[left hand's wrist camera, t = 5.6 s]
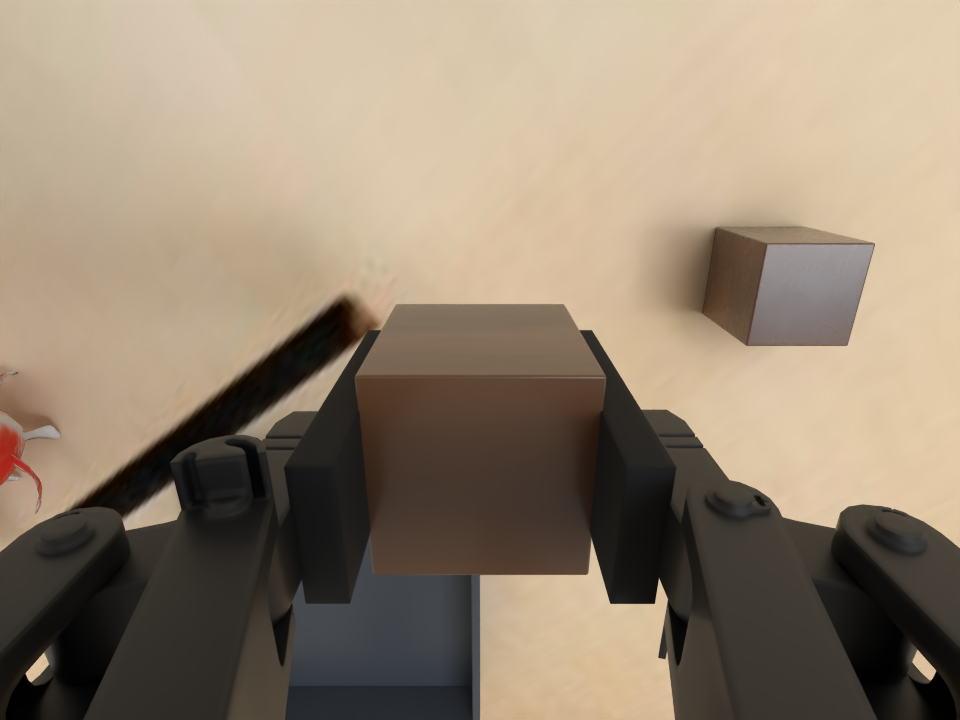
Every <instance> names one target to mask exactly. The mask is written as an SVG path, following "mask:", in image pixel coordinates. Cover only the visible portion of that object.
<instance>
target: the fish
mask: <svg viewBox="0 0 960 720" xmlns="http://www.w3.org/2000/svg"><path fill="white" fill-rule="evenodd" d="M17 373H18V372H14V371H8V372H6V373H4V374H2V375H0V384H1V383H2V381H3V380H4V378H5V377H6V376H7V375H14V374H17ZM59 437H60V434H59V432H58V431H57V430H56V429H55V428H54V427H53V426H51V425H47V426H43V427H41V428H38V429H36V430H32V431H28V432H23V427H22V426H21V425H20V424H18V423H17V422H16V421H15V420H14V419H12V418H11V417H10V416H9V415H8V414H7V413H5V412H3V411H1V410H0V485H1V484H3V483H4V482H5V481H13V480H19V479H21V478H17V477H12V476H10V475H11V474H12V472H13V471H14V469H15V468H16V467H17V468H19V469H20V470H22V471H24V472H26V473H28V474H29V475H31V476H32V477H33V478H34V480H35V482H36V484H37V489H38V492H39V498H38V502H37V506H36V511H35V514H36V513H37V512H38V510H39V508H40V505H41V494H42V486H41V482H40V480H39V478H38V477H37V476H36V475H35V474H34V472H33V471H32V470H31V469H30V467H29V466H28V465H26V464H25V463H24V462H22V461H21V460H20V458H21V455H22V452H23V449H24V445H25V441H26V440H30V439H34V438H49V439H57V438H59Z"/></svg>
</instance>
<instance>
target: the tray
mask: <svg viewBox="0 0 960 720" xmlns="http://www.w3.org/2000/svg"><path fill="white" fill-rule="evenodd" d="M292 603H293V609H294V615H295V622H296V627H295V636H294V645H293V653H292V662H291V671H290V680H289V688H288V697H287V706H286V715H285V720H480V575H374V574H373V572H372V561H371V550H370V539H368V543H367V546H366V550H365V553H364V557H363V560H362V564H361V567H360V571H359V574H358V578H357V581H356V585H355V588H354V592H353V595H352V599H351V602H350V604H306V603H305V597H304V591H303V584H302V580H301V582H300V585H299V587H298V589H297V592H296V594H295V597H294V599H293V601H292Z"/></svg>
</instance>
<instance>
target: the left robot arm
mask: <svg viewBox="0 0 960 720" xmlns="http://www.w3.org/2000/svg"><path fill="white" fill-rule="evenodd" d="M579 331H580V333H581V334H582V336H583V338H584V339H585V341H586V343H587V345H588V346H589V348H590V350H591V351H592V353H593V355H594V357H595V358H596V360H597V362H598V363H599V365H600V367H601V369H602V370H603V372H604V374H605V376H606V386H605V397H604V408H603V411H601V416H600V427H599V438H598V450H597V461H596V472H595V483H594V494H593V505H592V516H591V527H590V534H591V538H592V541H593V545H594V548H595V552H596V555H597V559H598V562H599V566H600V569H601V573H602V576H603V580H604V583H605V587H606V590H607V594H608V597H609V601H610V604H655V599H656V593H657V587H658V580H659V579H660V581H661V583H662V586H663V588H664V590H665V593H666V595H667V598H668V603H667V609H666V615H665V621H664V626H663V632H662V638H661V644H660V650H659V657H658V658H662V659H666V653H667V652H668V661H669V670H670V678H671V687H672V696H673V705H674V713H675V720H960V548H959V547H957V546H956V545H955V544H954V543H953V542H951V541H950V540H949V539H948V538H946V537H945V536H944V535H943V534H942V533H940V532H939V531H937V530H935V529H934V528H932V527H931V526H929V525H928V524H926V523H925V522H923V521H921V520H919V519H916V518H914V517H912V516H910V515H908V514H907V513H904V512H902V511H899V510H896V509H894V510H892V509H891V508H888V507H883V506H872V505H856V506H850V507H847V508H846V509H845V510H844V511H842V512H841V513H840V516H839V519H838V523H837V526H836V529H835V528H830V527H824V526H819V525H814V524H809V523H804V522H799V521H795V520H791V519H787V518H783V517H782V516H781V513H780V511H779V509H778V508H777V507H776V505H775V504H774V503H773V501H772V500H771V499H770V498H769V497H767V496H766V495H764V494H763V493H761V492H760V491H758V490H757V489H755V488H752V487H750V486H747V485H745V484H743V483H740V482H735V481H731V480H729V479H728V478H727V476H726V475H725V474H724V472H723V471H722V470H721V468H720V467H719V466H718V464H717V463H716V462H715V460H714V459H713V458H712V456H711V455H710V454H709V452H708V451H707V450H706V449H705V448H703V445H702V443H701V442H700V441H699V439H698V438H697V437H695V434H694V433H693V431H692V430H691V429H690V427H689V426H688V425H687V423H686V422H685V421H684V420H682V419H681V418H679V417H677V416H676V415H674V414H673V413H671V412H669V411H668V410H641V409H640V407H639V406H638V404H637V402H636V401H635V399H634V398H633V396H632V394H631V393H630V391H629V389H628V388H627V386H626V385H625V383H624V381H623V380H622V378H621V377H620V375H619V373H618V372H617V370H616V368H615V367H614V365H613V364H612V362H611V360H610V359H609V357H608V356H607V354H606V352H605V351H604V349H603V348H602V346H601V344H600V343H599V341H598V339H597V338H596V336H595V335H594V333H593V331H592V330H579ZM380 332H381V330H368V332H367V334H366V335H365V337H364V338H363V340H362V342H361V343H360V345H359V346H358V348H357V350H356V351H355V353H354V355H353V356H352V358H351V359H350V361H349V363H348V364H347V366H346V367H345V369H344V371H343V372H342V374H341V376H340V377H339V379H338V380H337V382H336V384H335V385H334V387H333V388H332V390H331V392H330V393H329V395H328V397H327V398H326V400H325V401H324V403H323V405H322V406H321V408H320V409H319V411H318V412H292V413H291V414H289V415H288V416H286V417H284V418H283V419H281V420H280V421H278V422H277V423H275V425H274V426H273V427H272V429H271V430H270V431H269V433H268V434H267V435H266V439H263V441H261V440H259V439H258V438H255V437H250V436H246V435H228V436H223V437H217V438H212V439H208V440H205V441H203V442H200V443H197V444H194V445H192V446H190V447H189V448H187V449H185V450H184V451H182V452H180V453H179V454H178V455H177V456H176V457H175V458H174V459H173V460H172V461H171V462H170V466H171V470H172V473H173V477H174V481H175V485H176V489H177V493H178V497H179V501H180V505H181V509H182V510H181V512H180V514H179V516H178V519H177V520H175V521H171V522H167V523H163V524H158V525H153V526H148V527H143V528H138V529H133V530H128V531H125V528H124V524H123V521H122V518H121V515H120V514H118V513H117V512H116V511H115V510H113V509H109V508H103V507H93V508H83V509H76V510H71V511H70V512H68V511H67V512H64V513H61V514H58V515H56V516H54V517H53V518H50V519H48V520H46V521H44V522H41V523H39V524H37V525H36V526H34V527H33V528H31V529H30V530H28V531H27V532H25V533H24V534H22V535H21V536H19V537H18V538H17V539H16V540H14V541H13V542H12V543H11V544H10V545H8V546H7V547H6V548H5V549H4V550H2V551H1V552H0V720H285V715H286V706H287V697H288V688H289V680H290V671H291V662H292V653H293V645H294V636H295V627H296V622H295V615H294V609H293V603H292V601H293V599H294V597H295V594H296V592H297V589H298V587H299V585H300V582H301V580H302V584H303V591H304V597H305V603H306V604H350V602H351V599H352V595H353V592H354V588H355V585H356V581H357V578H358V574H359V571H360V567H361V564H362V560H363V557H364V553H365V550H366V546H367V543H368V539H369V536H370V523H369V512H368V501H367V490H366V479H365V468H364V456H363V445H362V434H361V423H360V412H359V411H358V408H357V397H356V386H355V376H356V374H357V372H358V370H359V369H360V367H361V365H362V363H363V362H364V360H365V358H366V356H367V355H368V353H369V351H370V349H371V348H372V346H373V344H374V342H375V341H376V339H377V337H378V335H379V334H380ZM917 649H918V650H919V652H920V653H921V654H922V655H923V656H924V657H925V658H926V659H927V661H928V662H929V663H930V664H931V665H932V666H933V667H934V668H935V670H936V673H935V675H934V678H933V679H932V680H931V681H930V680H928V679H927V678H926V677H925V676H924V675H923V674H922V673H921V672H920V671H919V670H918V669H917V668H916V666H915V665H914V664H913V663H912V661H913V659H914V656H915V654H916V652H917ZM43 653H45V655H46V657H47V660H48V662H49V665H48V666H47V668H46V669H45V670H44V671H43V672H42V673H41V675H40V676H38V677H37V678H36V679H35V680H34V681H32V682H30V681H29V680H28V678H27V676H26V674H25V673H26V672H27V671H28V670H29V669H30V667H31V666H32V665H33V664H34V663H35V662H36V661H37V659H38V658H39V657H40V656H41V655H42V654H43Z"/></svg>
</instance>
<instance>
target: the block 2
mask: <svg viewBox="0 0 960 720" xmlns="http://www.w3.org/2000/svg"><path fill="white" fill-rule="evenodd" d="M874 246H875V244H874V243H871V242H867V241H863V240H859V239H854V238H850V237H846V236H842V235H837V234H833V233H829V232H824V231H820V230H816V229H812V228H807V227H717V228H716V233H715V239H714V245H713V251H712V258H711V264H710V270H709V276H708V283H707V289H706V295H705V301H704V307H703V314H704V315H705V316H707V317H708V318H709V319H711V320H712V321H713V322H715V323H716V324H718V325H719V326H720V327H722V328H723V329H724V330H726V331H727V332H728V333H730V334H731V335H733V336H734V337H735V338H737V339H738V340H739V341H741V342H742V343H744V344H745V345H746V346H847V345H848V342H849V338H850V334H851V330H852V327H853V323H854V319H855V316H856V312H857V308H858V305H859V301H860V297H861V294H862V290H863V286H864V283H865V279H866V275H867V272H868V268H869V264H870V261H871V257H872V253H873V250H874Z"/></svg>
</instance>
